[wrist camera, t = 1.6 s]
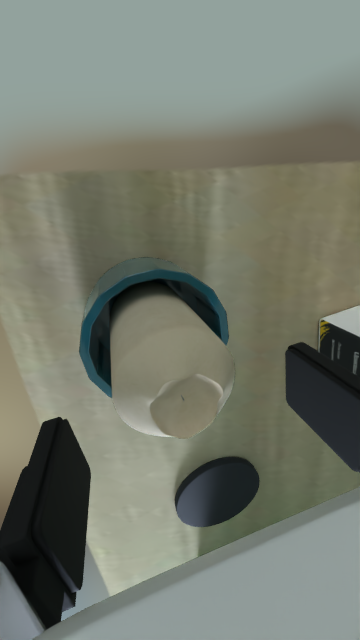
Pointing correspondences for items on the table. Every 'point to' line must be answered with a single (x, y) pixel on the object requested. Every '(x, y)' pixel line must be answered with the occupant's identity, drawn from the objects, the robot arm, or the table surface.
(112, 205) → the table surface
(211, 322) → the holder cup
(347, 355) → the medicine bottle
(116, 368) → the candle
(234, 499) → the coaster
